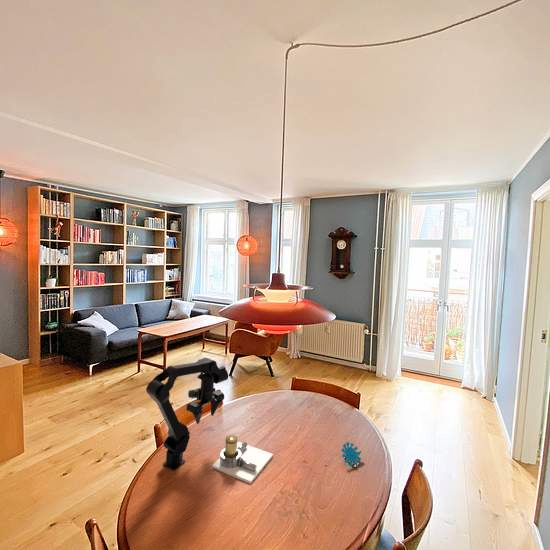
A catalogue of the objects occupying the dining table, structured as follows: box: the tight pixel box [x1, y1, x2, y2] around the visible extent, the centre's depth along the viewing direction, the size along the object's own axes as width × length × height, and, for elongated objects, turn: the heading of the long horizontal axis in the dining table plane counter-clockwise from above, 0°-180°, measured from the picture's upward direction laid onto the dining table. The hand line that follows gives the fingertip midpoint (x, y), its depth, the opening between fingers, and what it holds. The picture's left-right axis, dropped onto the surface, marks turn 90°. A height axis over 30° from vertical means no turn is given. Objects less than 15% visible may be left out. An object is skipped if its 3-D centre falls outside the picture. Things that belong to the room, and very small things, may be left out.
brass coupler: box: [224, 434, 239, 458], centre depth 134 cm, size 5×5×10 cm
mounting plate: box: [211, 441, 274, 485], centre depth 136 cm, size 20×18×1 cm
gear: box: [341, 441, 362, 467], centre depth 142 cm, size 11×6×10 cm
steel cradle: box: [219, 441, 257, 472], centre depth 136 cm, size 16×16×4 cm
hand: (205, 419), depth 144 cm, fingers open, 9 cm apart
